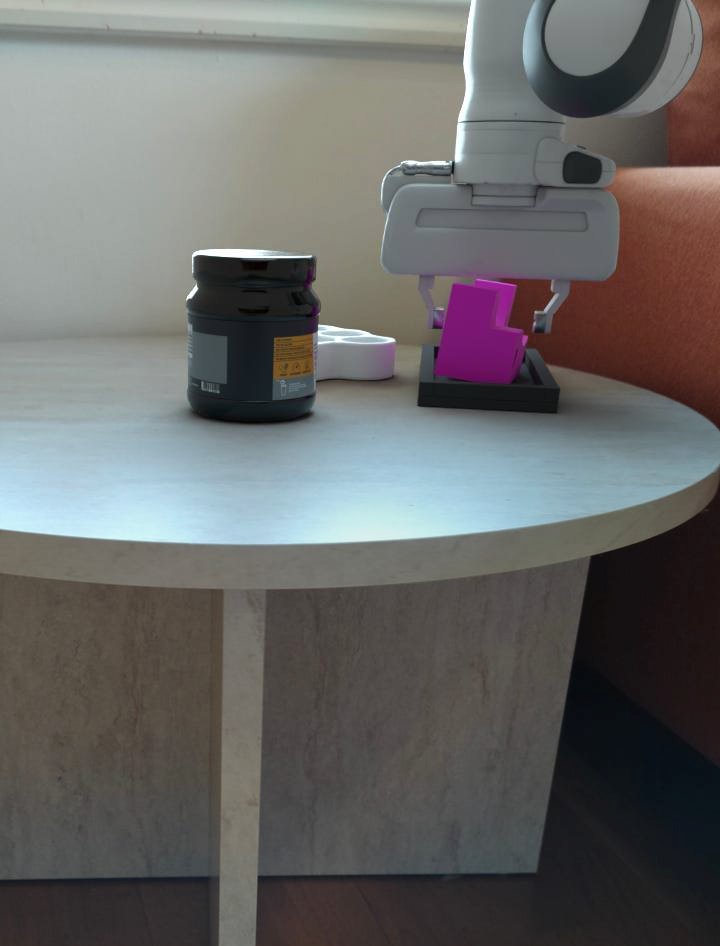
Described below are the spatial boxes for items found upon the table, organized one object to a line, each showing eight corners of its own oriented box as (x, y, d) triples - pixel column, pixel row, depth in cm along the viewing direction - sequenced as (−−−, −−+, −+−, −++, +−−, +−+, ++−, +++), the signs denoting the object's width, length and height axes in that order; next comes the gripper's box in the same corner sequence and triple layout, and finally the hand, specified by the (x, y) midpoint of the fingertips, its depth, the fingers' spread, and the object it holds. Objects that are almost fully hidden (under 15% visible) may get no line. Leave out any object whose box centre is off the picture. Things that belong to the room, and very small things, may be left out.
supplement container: (342, 412, 83) (351, 255, 78) (251, 431, 76) (255, 260, 71) (251, 392, 90) (254, 246, 85) (159, 408, 83) (157, 251, 78)
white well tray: (190, 363, 103) (290, 349, 112) (322, 390, 91) (422, 372, 100) (190, 328, 101) (292, 317, 111) (324, 351, 90) (426, 337, 99)
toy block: (506, 387, 86) (527, 295, 83) (433, 374, 88) (452, 283, 85) (524, 369, 100) (543, 289, 97) (461, 358, 101) (478, 279, 98)
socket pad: (534, 369, 103) (537, 348, 102) (556, 413, 84) (560, 388, 83) (420, 363, 105) (422, 343, 104) (417, 405, 86) (419, 381, 85)
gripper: (382, 159, 85) (370, 330, 91) (636, 163, 82) (607, 340, 88) (385, 160, 91) (374, 321, 97) (623, 164, 88) (597, 330, 94)
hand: (487, 330), depth 92 cm, fingers open, 8 cm apart
